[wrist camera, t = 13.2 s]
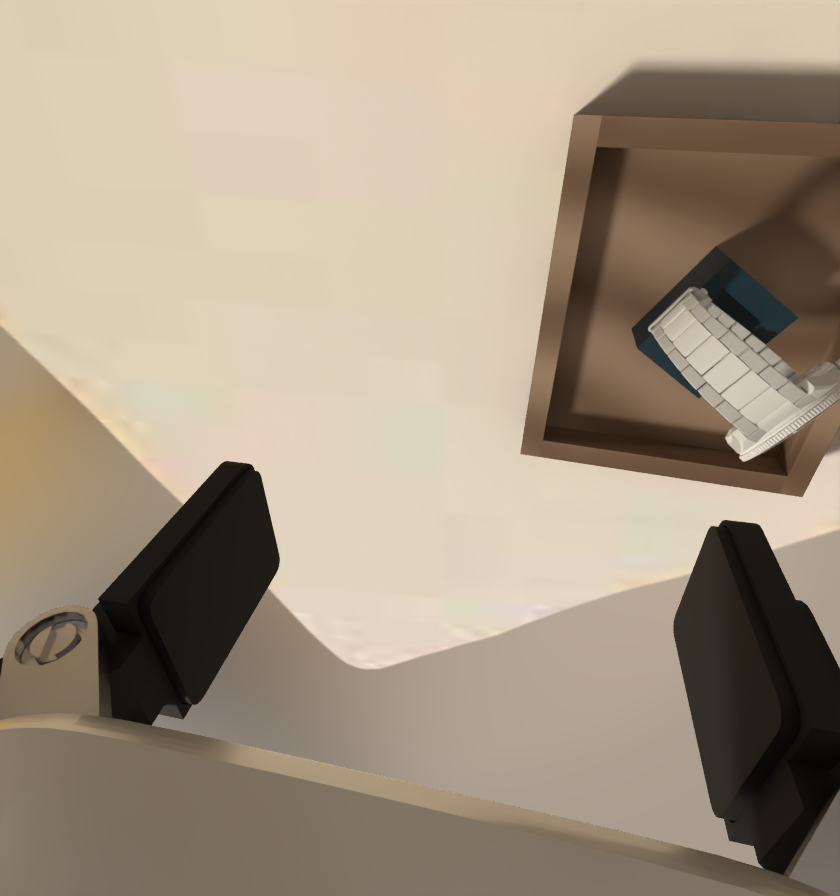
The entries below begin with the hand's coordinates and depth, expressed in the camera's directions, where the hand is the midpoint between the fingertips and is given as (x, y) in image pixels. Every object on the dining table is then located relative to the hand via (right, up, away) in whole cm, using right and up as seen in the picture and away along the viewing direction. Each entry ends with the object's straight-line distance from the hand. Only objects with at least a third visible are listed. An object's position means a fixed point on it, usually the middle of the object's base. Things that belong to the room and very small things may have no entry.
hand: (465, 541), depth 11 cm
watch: (+14, +9, +17) cm, 24 cm away
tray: (+14, +10, +18) cm, 25 cm away
